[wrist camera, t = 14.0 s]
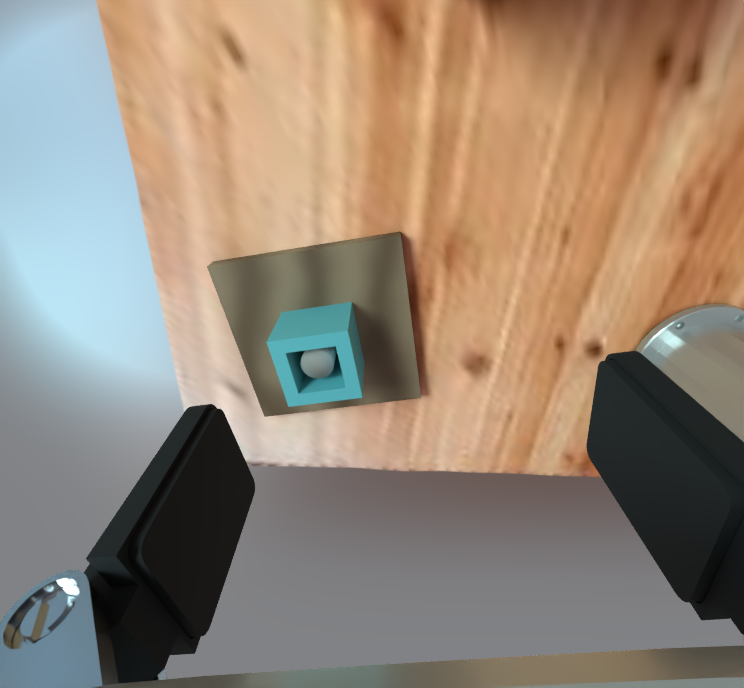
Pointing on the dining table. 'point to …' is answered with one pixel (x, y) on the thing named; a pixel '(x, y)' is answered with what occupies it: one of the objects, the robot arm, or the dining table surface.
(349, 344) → the collar
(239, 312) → the post board
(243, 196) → the dining table surface
